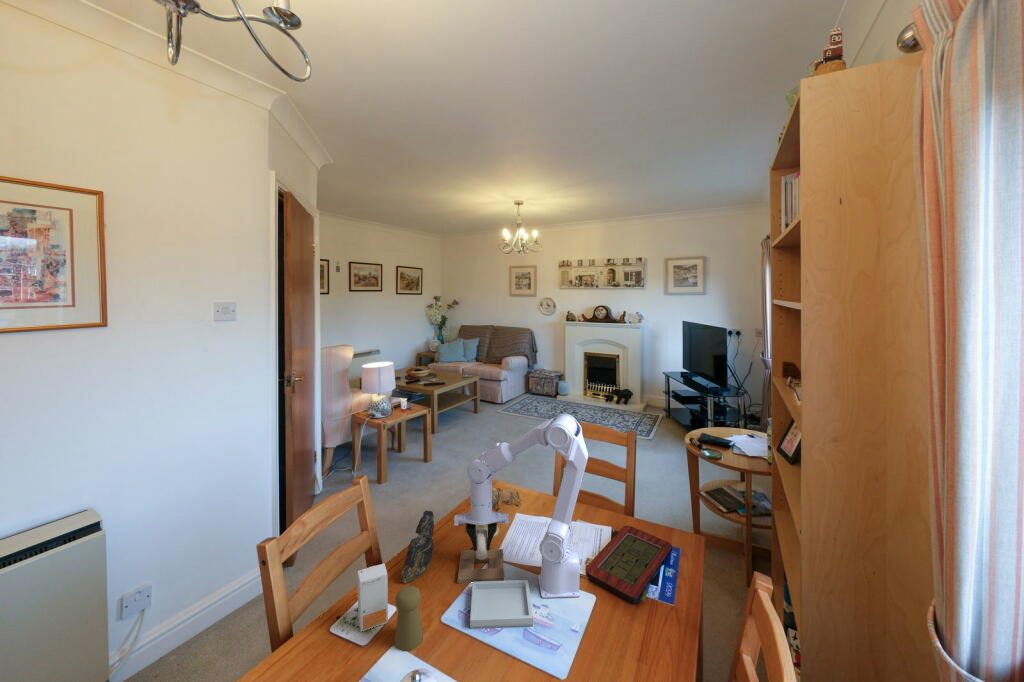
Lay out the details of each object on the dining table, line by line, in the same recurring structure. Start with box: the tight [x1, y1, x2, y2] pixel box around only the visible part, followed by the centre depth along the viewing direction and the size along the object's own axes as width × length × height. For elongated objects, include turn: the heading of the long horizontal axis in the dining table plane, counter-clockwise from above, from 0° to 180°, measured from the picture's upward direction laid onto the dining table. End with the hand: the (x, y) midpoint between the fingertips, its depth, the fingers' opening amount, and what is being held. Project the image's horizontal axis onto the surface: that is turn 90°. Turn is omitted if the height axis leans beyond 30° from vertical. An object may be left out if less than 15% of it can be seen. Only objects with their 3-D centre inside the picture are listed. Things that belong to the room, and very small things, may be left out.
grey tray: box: [469, 579, 534, 630], centre depth 92 cm, size 14×12×2 cm
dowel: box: [476, 529, 487, 560], centre depth 105 cm, size 3×3×7 cm
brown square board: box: [457, 548, 505, 585], centre depth 106 cm, size 12×12×1 cm
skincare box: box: [356, 563, 389, 633], centre depth 87 cm, size 6×4×12 cm
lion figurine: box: [492, 486, 522, 513], centre depth 137 cm, size 15×5×9 cm, turn 127°
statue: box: [401, 510, 435, 584], centre depth 104 cm, size 6×12×15 cm, turn 153°
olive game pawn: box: [394, 585, 424, 652], centre depth 83 cm, size 6×6×11 cm
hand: (481, 548), depth 106 cm, fingers closed on dowel, 3 cm apart
